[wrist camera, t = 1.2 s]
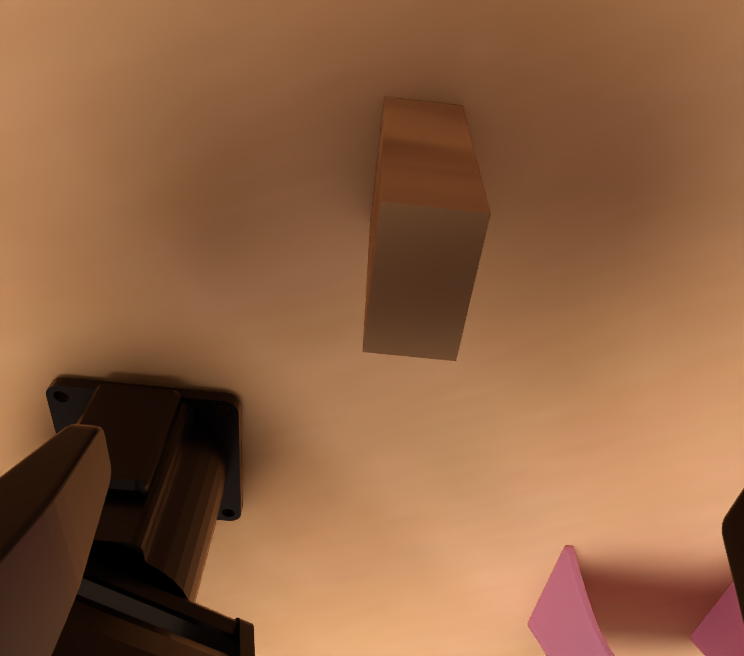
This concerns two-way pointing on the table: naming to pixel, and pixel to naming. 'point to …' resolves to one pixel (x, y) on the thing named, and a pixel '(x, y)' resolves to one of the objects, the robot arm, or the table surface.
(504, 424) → the table surface
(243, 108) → the table surface
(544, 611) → the toy chair
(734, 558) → the robot arm
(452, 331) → the wooden rectangular block
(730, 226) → the table surface
